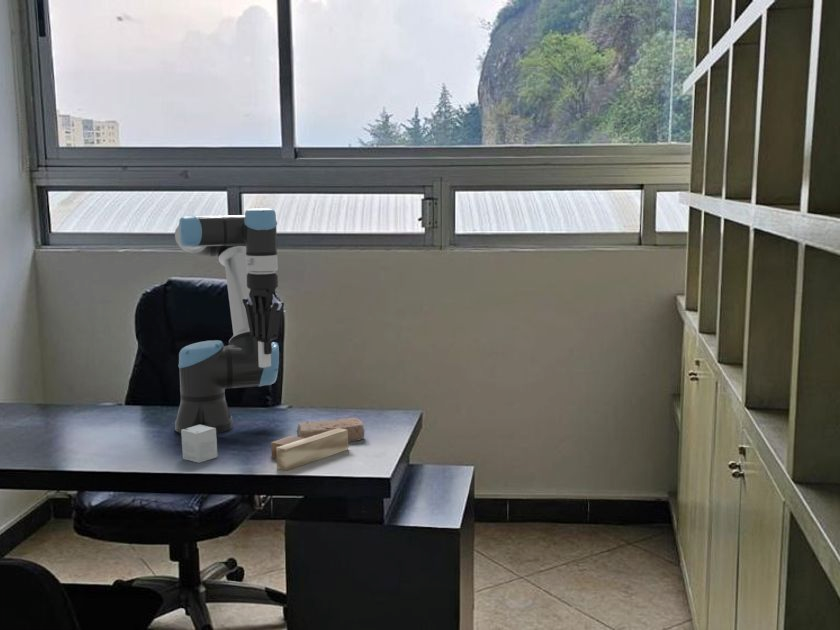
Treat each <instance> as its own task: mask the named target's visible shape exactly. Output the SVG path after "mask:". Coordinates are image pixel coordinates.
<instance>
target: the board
mask: <svg viewBox="0 0 840 630" xmlns="http://www.w3.org/2000/svg"><path fill="white" fill-rule="evenodd" d="M348 450H349V442H348V430H346V429H342V428H337V429H334V430H330V431H327V432H324V433H321V434H318V435H314V436H311V437H308V438H305V439H302V440H298V441H295V442H292V443H289V444H286V445H282V446H279V447H276V453H277V459H276V468H277V469H278V470H282V471H289V470H293V469H295V468H299V467H301V466H303V465H304V466H305V465H306V464H309V463H313V462H315V461H318V460H321V459H324V458H327V457H329V456H333V455H336V454H339V453H342V452H344V451H348Z"/></svg>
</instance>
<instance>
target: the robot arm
mask: <svg viewBox="0 0 840 630" xmlns="http://www.w3.org/2000/svg"><path fill="white" fill-rule="evenodd" d="M276 215H277V214H276V211H275V210H274V209H273V208H248V209H246V210H245V211H244V215H242V214H238V215H197V216H196V215H190V216H182V217H180V218H179V222H178V226H176V228H175V231H174V241H175V244H176V245H177V247H178V248H179V249H180V250H182V251H183V252H184V253H187V254H190V255H195V256H197V257H207V258H208V257H211V258H212V257H218V261H219V263H220V265H221V266H223V267H224V268H225V277H226V285H227V293H228V294H227V295H228V301H229V309H230V318H231V325H232V333H233V335H232V336H231V338H230V339H229V340H228V345H225V344H224V343H223V341H222V340H219V339H218V340H217V339H215V340H205V341H199V342H195V343H191V344H188V345H186V346H184V347H182V348H181V349H180V351H179V352H178V364H177V365H178V368H179V386H180V387H179V390H180V391H179V392H180V395H179V396H180V403H179V407H178V411H177V416H176V418H175V420H174V426H175V427H174V428H175V429H174V430H175V431H176V433H178V434H181V430H182V429H186V428H189V427H193V426H196V425H204V426H208V427H212V428H216V434H220V433H222V432H223V433H224V432H226V431H229V430H230V429H232V428H233V426H234V425H233V417H232V415H231V414H232V413H231V411H230V408H229V406H228V403H227V400H226V394H225V392H226V391H225V390H226V389H237V388H238V389H239V388H252V387H259V388H260V387H262V386H270V385H272V384H275V383H276V381H277V378H278V374H279V365H280V350H279V349H280V348H279V342H275V341H273V340H277V339H278V336H279V331H280V330H279V329H280V322H281V317H282V310H283V308H284V306H285V303H284V302H283V301H280V300H279V299H278V297H277V293H276V289H277V288H278V287H279V279H278V278H279V275H278V273H277V272H276V271H278V270H279V269H278V268H279V267H278V250H277V249H278V247H277V245H278V243H277V225H278V221H277V216H276Z"/></svg>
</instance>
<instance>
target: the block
mask: <svg viewBox="0 0 840 630" xmlns="http://www.w3.org/2000/svg"><path fill="white" fill-rule="evenodd" d="M302 439H305V438H301V437H298V436H295V435H288V436H285V437H282V438H281V439H280V438H279V439H277V440H273V441H272V442H270V448H271V449H270V452H271V453H270V454H271V458H272V459H276V460H277V453H276V447H279V446H282V445H286V444H289V443H292V442H295V441H298V440H302Z"/></svg>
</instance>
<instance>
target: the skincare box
mask: <svg viewBox="0 0 840 630" xmlns="http://www.w3.org/2000/svg"><path fill="white" fill-rule="evenodd" d="M180 435H181V448H182V449H181V451H182V459H183V460H186V461H189V462H190V461H191V462H194V463H198V464H199V463H203V462H206V461H209V460H213V459H215V458H218V443H217V442H218V440H217V433H216V428H212V427H208V426H204V425H196V426H193V427H189V428H186V429H182V430H181V433H180Z"/></svg>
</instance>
